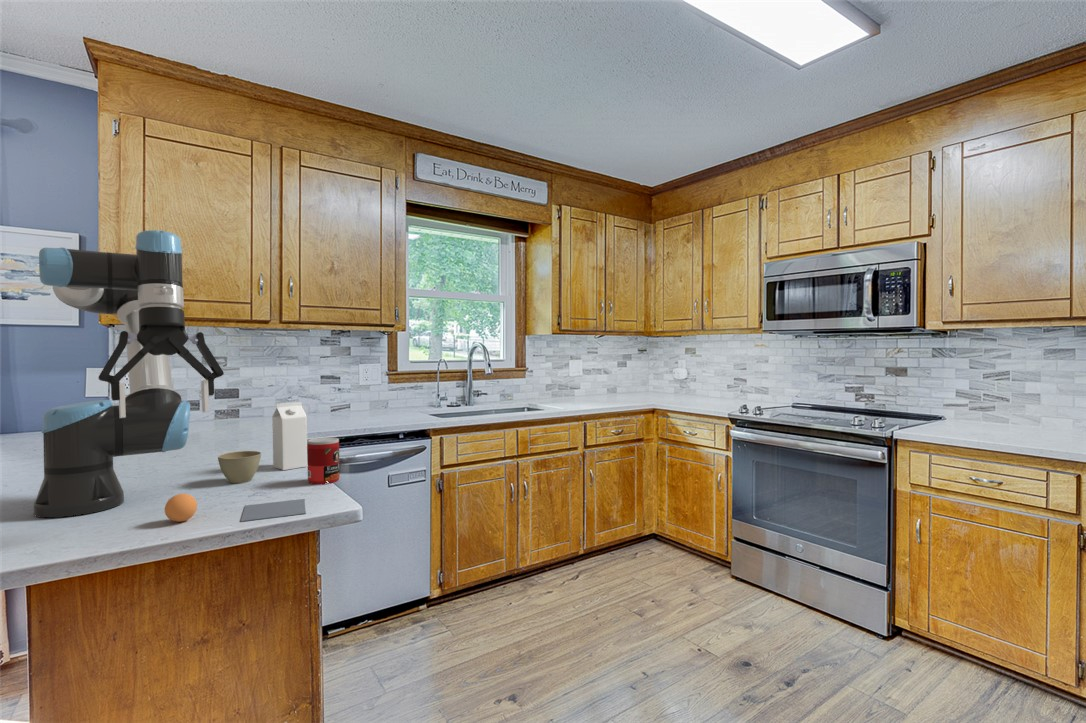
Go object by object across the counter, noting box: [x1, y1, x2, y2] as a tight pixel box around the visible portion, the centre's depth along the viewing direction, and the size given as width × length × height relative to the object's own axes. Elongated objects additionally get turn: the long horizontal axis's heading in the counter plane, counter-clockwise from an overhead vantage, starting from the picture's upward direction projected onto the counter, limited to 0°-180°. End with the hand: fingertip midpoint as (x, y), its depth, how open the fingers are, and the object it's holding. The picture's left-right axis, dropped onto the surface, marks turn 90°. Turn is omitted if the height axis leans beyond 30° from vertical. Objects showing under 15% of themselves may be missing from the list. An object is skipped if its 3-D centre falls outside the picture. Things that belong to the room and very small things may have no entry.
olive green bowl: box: [217, 450, 262, 484], centre depth 143 cm, size 10×10×7 cm
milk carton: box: [271, 401, 308, 471], centre depth 160 cm, size 7×7×19 cm
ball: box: [164, 493, 198, 523], centre depth 110 cm, size 6×6×6 cm
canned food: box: [307, 436, 341, 485], centre depth 143 cm, size 8×8×11 cm
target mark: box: [240, 498, 307, 523], centre depth 117 cm, size 12×12×1 cm
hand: (166, 414), depth 107 cm, fingers open, 13 cm apart
